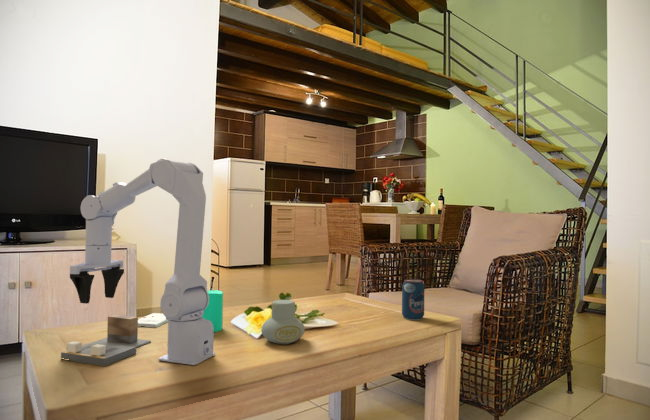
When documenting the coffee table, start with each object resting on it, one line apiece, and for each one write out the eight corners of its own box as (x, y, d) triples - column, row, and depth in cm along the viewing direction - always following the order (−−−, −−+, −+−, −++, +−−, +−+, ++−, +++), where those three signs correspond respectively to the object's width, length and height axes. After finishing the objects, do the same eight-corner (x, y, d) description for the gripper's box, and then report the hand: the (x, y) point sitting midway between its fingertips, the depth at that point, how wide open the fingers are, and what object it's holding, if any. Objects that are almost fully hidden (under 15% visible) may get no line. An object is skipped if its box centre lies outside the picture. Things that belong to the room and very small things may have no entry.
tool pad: (150, 342, 109) (150, 340, 109) (133, 348, 104) (133, 347, 104) (112, 337, 113) (112, 335, 113) (93, 343, 107) (93, 342, 107)
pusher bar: (137, 341, 108) (137, 317, 108) (130, 344, 106) (130, 319, 106) (114, 338, 111) (115, 314, 111) (107, 341, 108) (107, 316, 108)
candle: (206, 333, 118) (207, 288, 118) (196, 329, 123) (197, 285, 123) (226, 329, 122) (227, 286, 122) (216, 325, 126) (216, 283, 127)
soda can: (412, 321, 135) (413, 282, 135) (397, 317, 140) (397, 279, 140) (428, 319, 138) (429, 280, 138) (413, 314, 144) (413, 278, 144)
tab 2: (105, 353, 95) (105, 345, 95) (99, 355, 93) (99, 347, 93) (96, 352, 96) (96, 344, 96) (90, 354, 94) (90, 346, 94)
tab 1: (81, 350, 97) (81, 342, 97) (75, 352, 95) (75, 344, 95) (73, 349, 97) (73, 341, 98) (66, 351, 96) (66, 343, 96)
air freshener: (265, 347, 106) (266, 306, 106) (258, 338, 114) (258, 300, 114) (308, 343, 110) (309, 303, 110) (298, 335, 118) (298, 297, 118)
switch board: (135, 353, 100) (135, 346, 100) (104, 366, 92) (104, 358, 92) (94, 347, 104) (94, 341, 104) (60, 359, 96) (61, 352, 96)
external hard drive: (176, 319, 136) (156, 329, 123) (151, 318, 137) (128, 328, 125) (176, 314, 136) (156, 323, 123) (151, 312, 137) (128, 322, 125)
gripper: (108, 242, 117) (107, 294, 117) (60, 246, 103) (59, 304, 103) (130, 243, 115) (129, 296, 114) (83, 247, 101) (82, 306, 101)
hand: (97, 300), depth 108 cm, fingers open, 7 cm apart
